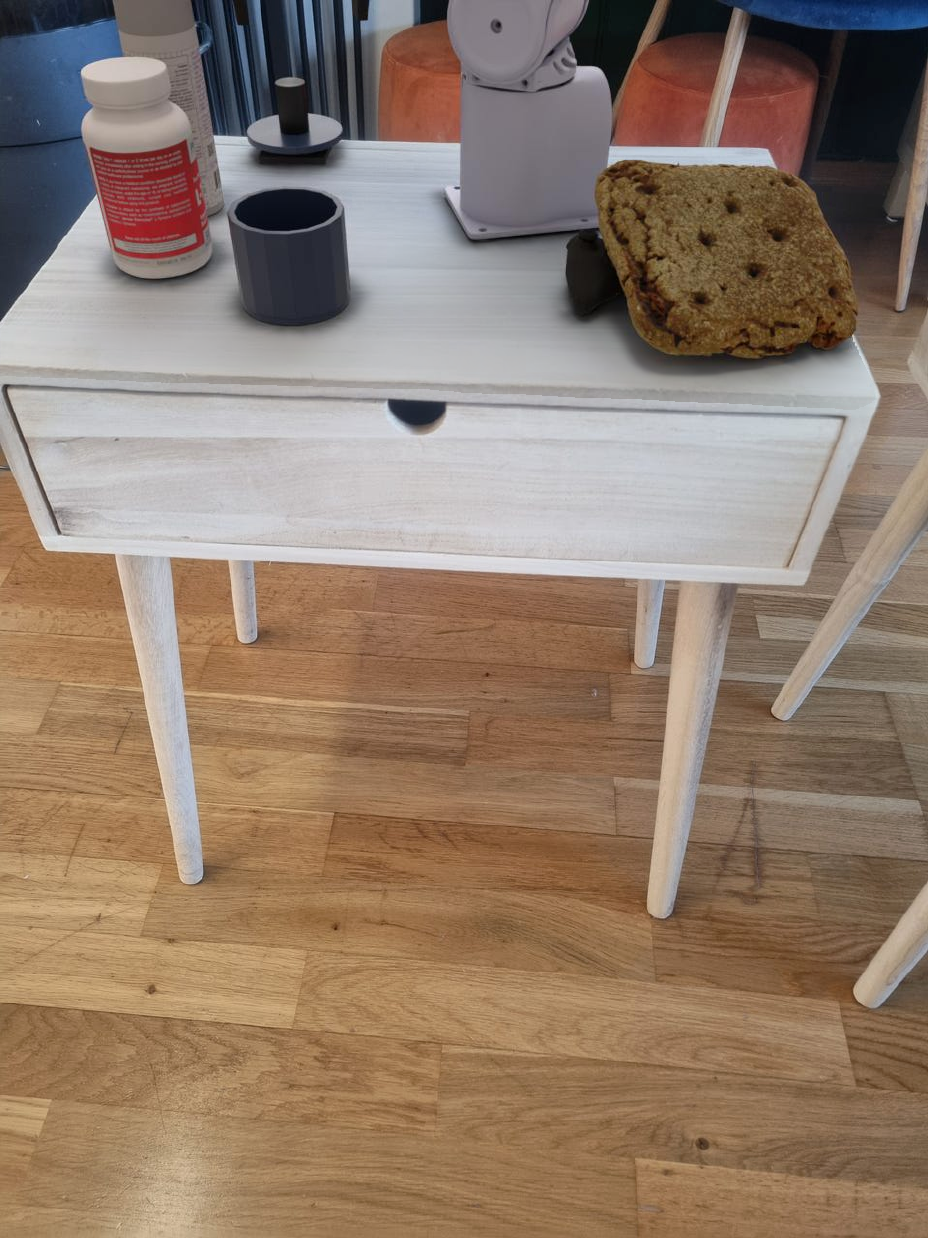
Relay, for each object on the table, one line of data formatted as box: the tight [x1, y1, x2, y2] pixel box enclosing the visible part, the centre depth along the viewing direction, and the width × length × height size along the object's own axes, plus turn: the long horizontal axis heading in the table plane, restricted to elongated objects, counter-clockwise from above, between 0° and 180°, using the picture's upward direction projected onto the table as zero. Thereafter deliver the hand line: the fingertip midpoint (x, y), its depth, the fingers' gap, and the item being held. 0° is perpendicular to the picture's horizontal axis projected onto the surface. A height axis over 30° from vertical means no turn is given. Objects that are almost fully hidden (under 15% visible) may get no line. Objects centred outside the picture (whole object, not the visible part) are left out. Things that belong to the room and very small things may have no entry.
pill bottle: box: [80, 56, 213, 280], centre depth 59 cm, size 6×6×11 cm
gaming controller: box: [564, 228, 625, 316], centre depth 59 cm, size 9×5×5 cm
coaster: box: [257, 146, 333, 166], centre depth 75 cm, size 5×5×1 cm
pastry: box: [594, 159, 859, 359], centre depth 56 cm, size 17×17×3 cm
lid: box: [246, 76, 344, 155], centre depth 74 cm, size 7×7×4 cm
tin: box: [226, 185, 351, 326], centre depth 57 cm, size 6×6×5 cm
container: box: [112, 0, 225, 217], centre depth 63 cm, size 5×5×15 cm
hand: (301, 18), depth 64 cm, fingers open, 7 cm apart
